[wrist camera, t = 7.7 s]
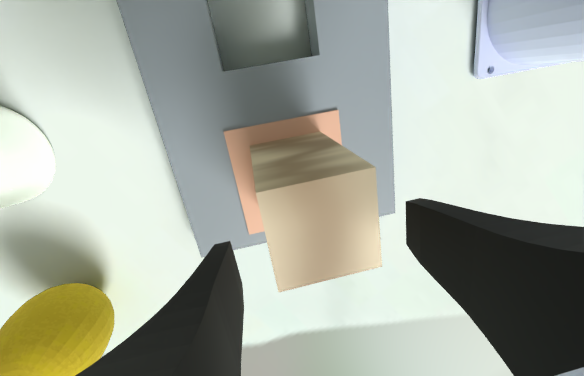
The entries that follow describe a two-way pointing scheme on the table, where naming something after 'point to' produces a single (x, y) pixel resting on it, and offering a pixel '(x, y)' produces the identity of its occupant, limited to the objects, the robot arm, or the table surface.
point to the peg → (316, 209)
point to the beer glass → (23, 159)
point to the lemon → (57, 332)
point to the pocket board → (260, 104)
